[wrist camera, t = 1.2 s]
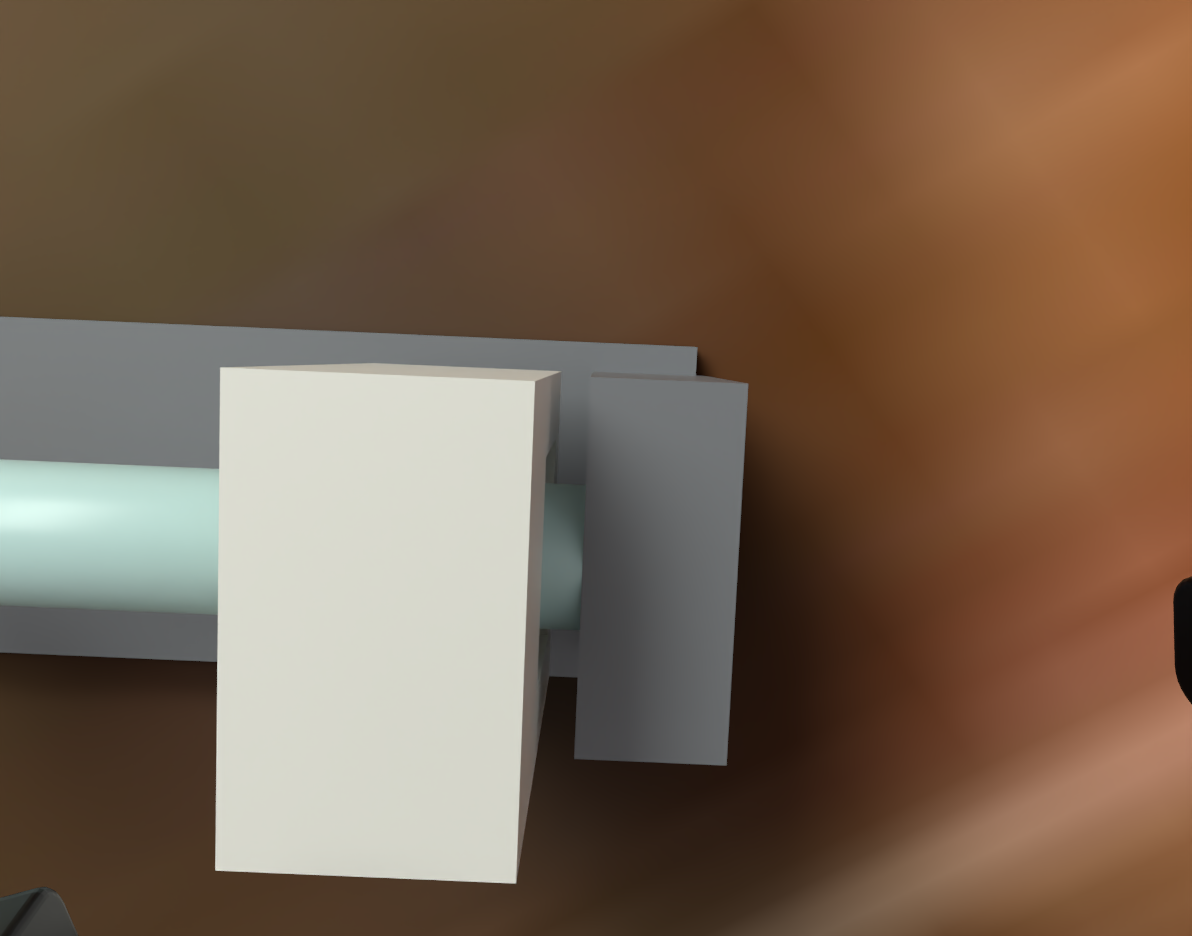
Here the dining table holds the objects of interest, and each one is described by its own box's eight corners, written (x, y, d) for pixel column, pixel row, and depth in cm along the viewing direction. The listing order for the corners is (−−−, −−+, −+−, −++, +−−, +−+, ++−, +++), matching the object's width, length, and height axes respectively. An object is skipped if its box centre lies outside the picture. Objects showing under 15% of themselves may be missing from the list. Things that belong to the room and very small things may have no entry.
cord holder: (705, 348, 20) (758, 343, 13) (688, 673, 21) (730, 824, 14) (-339, 302, 20) (-811, 275, 13) (-326, 628, 21) (-769, 760, 14)
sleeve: (561, 370, 18) (535, 380, 11) (549, 675, 18) (515, 883, 11) (375, 363, 18) (219, 368, 11) (367, 667, 18) (215, 870, 11)
